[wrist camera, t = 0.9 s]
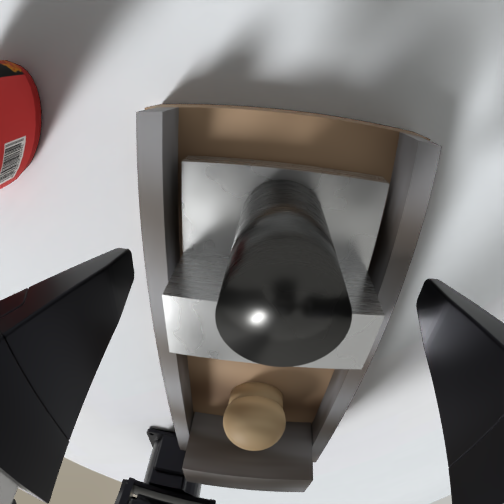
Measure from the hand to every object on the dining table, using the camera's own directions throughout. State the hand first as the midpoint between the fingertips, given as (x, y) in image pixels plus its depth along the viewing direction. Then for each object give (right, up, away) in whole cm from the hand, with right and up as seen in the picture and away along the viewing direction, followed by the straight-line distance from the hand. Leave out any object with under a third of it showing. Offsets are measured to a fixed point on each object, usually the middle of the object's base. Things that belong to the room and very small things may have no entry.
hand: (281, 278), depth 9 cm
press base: (0, -3, +10) cm, 11 cm away
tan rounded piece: (-1, -9, +11) cm, 14 cm away
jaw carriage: (0, +1, +5) cm, 5 cm away
